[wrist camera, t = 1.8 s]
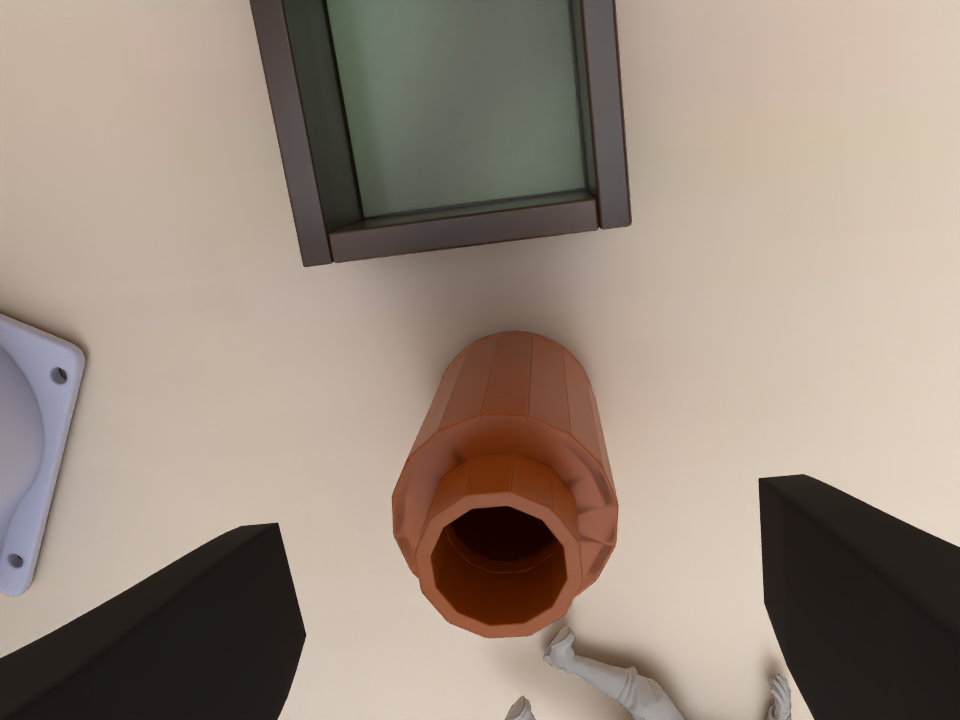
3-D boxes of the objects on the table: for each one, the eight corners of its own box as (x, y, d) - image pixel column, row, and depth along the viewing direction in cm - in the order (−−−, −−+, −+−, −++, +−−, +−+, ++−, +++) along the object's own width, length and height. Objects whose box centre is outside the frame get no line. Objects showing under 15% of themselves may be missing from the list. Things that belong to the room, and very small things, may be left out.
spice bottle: (554, 499, 22) (563, 708, 13) (416, 442, 21) (340, 618, 13) (620, 368, 20) (673, 511, 12) (473, 306, 20) (425, 409, 12)
